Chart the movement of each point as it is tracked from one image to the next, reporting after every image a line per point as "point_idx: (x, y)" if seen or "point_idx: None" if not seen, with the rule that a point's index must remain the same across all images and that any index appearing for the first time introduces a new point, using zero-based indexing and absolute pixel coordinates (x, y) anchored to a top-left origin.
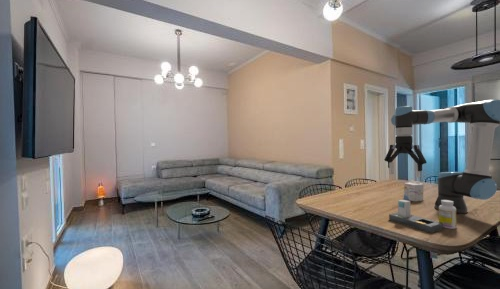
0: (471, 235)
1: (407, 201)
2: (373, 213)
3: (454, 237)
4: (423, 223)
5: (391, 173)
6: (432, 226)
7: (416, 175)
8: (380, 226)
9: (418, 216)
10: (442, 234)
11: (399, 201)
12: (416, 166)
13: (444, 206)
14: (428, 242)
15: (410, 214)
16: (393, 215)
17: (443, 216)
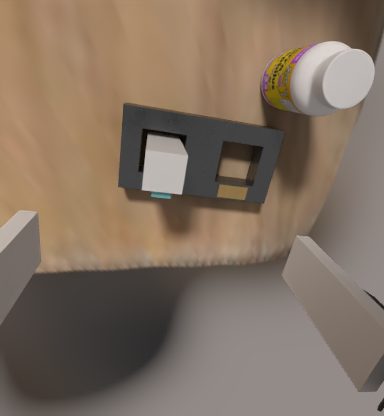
0: (345, 118)
1: (180, 173)
2: (30, 149)
3: (308, 177)
4: (241, 195)
5: (36, 254)
6: (265, 194)
7: (296, 289)
8: (140, 257)
9: (202, 117)
10: (281, 179)
11: (149, 189)
12: (353, 369)
13: (322, 106)
14: (265, 260)
15: (170, 114)
16: (135, 186)
17: (295, 112)
